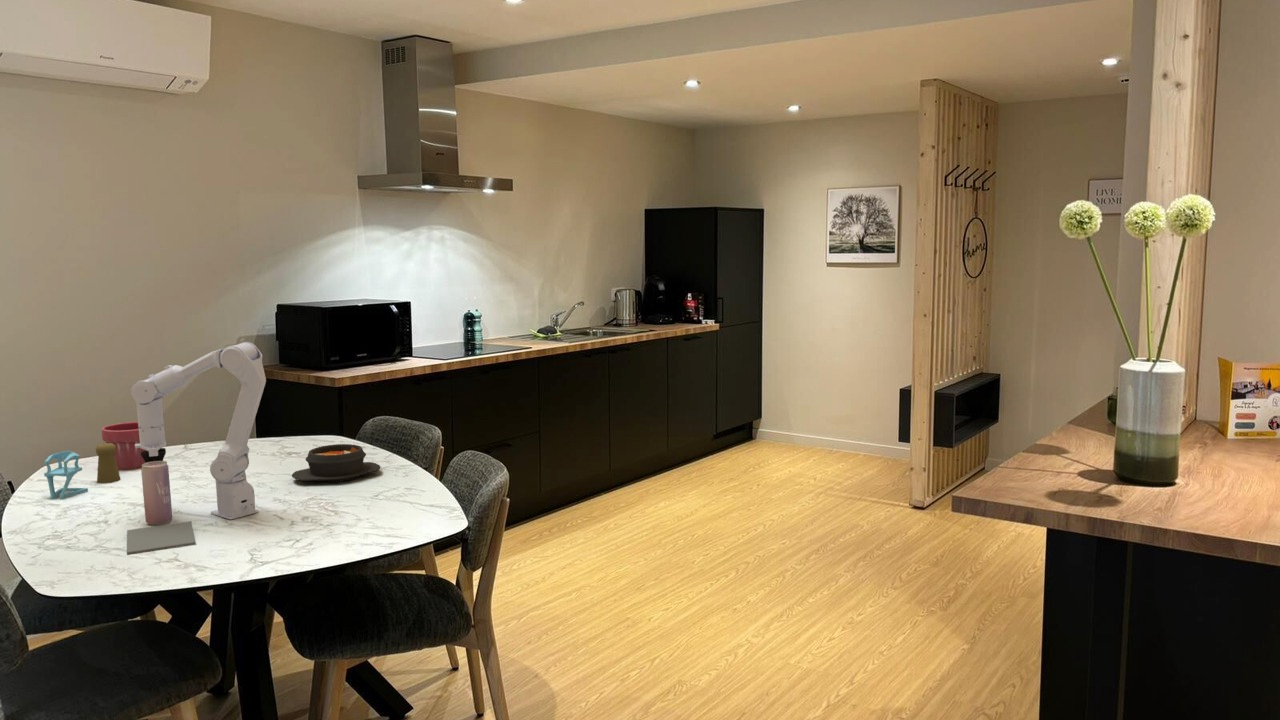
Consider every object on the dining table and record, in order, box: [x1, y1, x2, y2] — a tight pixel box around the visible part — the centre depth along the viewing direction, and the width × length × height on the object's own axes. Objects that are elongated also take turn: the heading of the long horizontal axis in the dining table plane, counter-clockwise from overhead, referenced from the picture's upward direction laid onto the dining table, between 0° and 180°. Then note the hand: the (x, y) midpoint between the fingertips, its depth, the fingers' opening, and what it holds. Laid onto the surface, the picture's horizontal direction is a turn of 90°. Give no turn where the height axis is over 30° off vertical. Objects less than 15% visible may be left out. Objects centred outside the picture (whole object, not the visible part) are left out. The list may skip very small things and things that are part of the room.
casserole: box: [291, 443, 381, 483], centre depth 272 cm, size 25×19×8 cm
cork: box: [95, 442, 121, 484], centre depth 270 cm, size 6×6×11 cm
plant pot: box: [101, 421, 147, 471], centre depth 287 cm, size 14×14×13 cm
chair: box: [43, 450, 89, 500], centre depth 256 cm, size 8×8×12 cm
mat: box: [126, 520, 197, 555], centre depth 219 cm, size 18×14×1 cm
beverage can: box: [140, 460, 173, 526], centre depth 231 cm, size 6×6×15 cm
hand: (155, 478), depth 237 cm, fingers closed
